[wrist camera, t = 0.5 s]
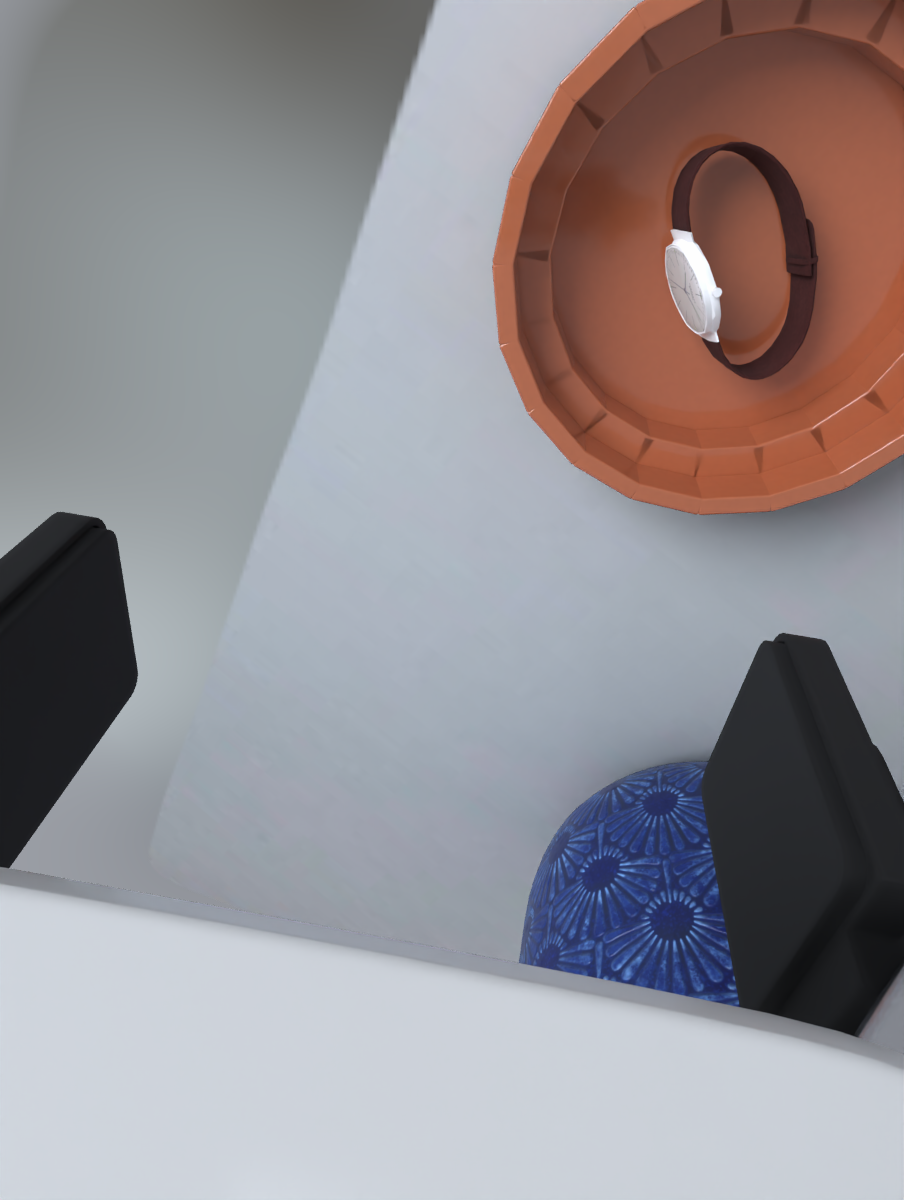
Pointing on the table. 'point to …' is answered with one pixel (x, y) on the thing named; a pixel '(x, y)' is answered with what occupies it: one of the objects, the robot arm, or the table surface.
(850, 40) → the bowl
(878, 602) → the table surface
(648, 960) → the planter
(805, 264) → the watch
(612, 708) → the table surface
